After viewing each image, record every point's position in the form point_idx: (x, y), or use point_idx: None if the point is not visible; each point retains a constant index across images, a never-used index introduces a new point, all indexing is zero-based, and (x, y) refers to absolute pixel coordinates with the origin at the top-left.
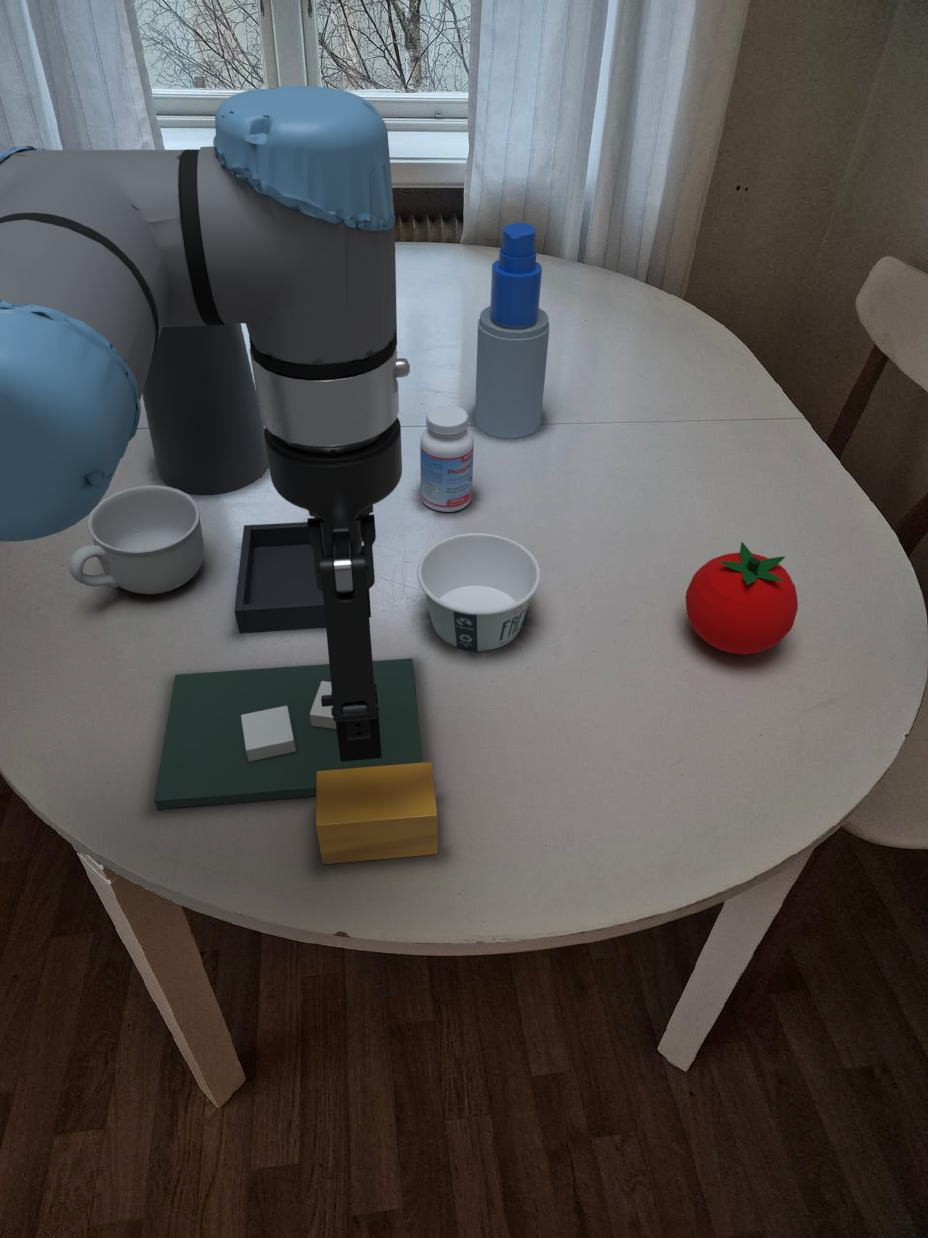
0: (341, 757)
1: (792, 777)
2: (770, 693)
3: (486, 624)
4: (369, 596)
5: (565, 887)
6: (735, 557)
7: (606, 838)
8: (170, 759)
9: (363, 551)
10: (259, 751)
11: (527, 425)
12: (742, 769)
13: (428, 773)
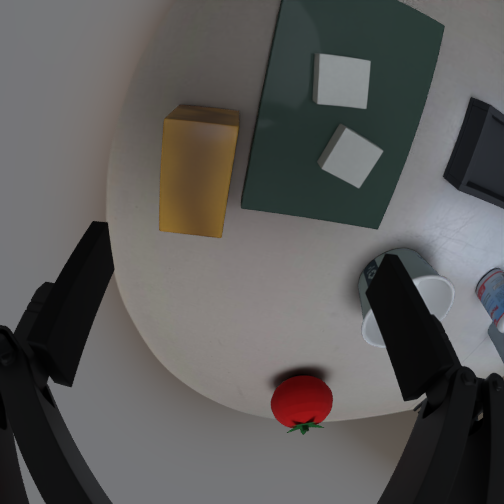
0: (89, 228)
1: (199, 373)
2: (254, 381)
3: (366, 301)
4: (377, 324)
5: (137, 270)
6: (318, 421)
7: (170, 299)
8: None
9: (408, 398)
10: (317, 66)
11: (492, 333)
12: (208, 361)
13: (207, 233)
